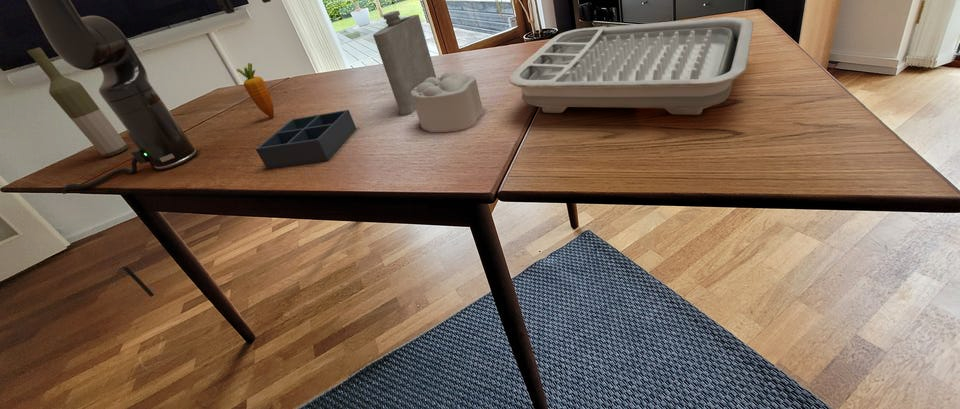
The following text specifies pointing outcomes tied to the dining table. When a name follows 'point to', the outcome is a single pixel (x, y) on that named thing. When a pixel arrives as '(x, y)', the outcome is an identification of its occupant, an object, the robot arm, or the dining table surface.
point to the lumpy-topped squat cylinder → (447, 102)
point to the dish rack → (638, 66)
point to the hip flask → (404, 57)
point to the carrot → (258, 91)
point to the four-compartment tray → (307, 140)
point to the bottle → (80, 108)
